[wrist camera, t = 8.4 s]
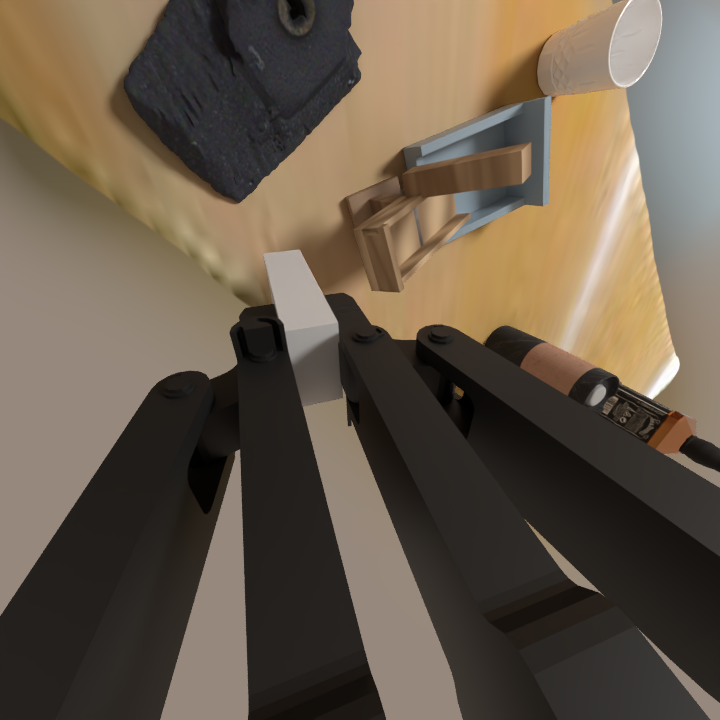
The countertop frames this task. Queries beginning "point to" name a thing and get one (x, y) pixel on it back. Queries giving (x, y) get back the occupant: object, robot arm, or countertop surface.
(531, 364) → the travel mug
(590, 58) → the white cup
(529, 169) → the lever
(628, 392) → the whiskey bottle
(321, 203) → the countertop surface
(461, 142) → the bin
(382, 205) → the fulcrum
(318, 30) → the dark slate chunk
